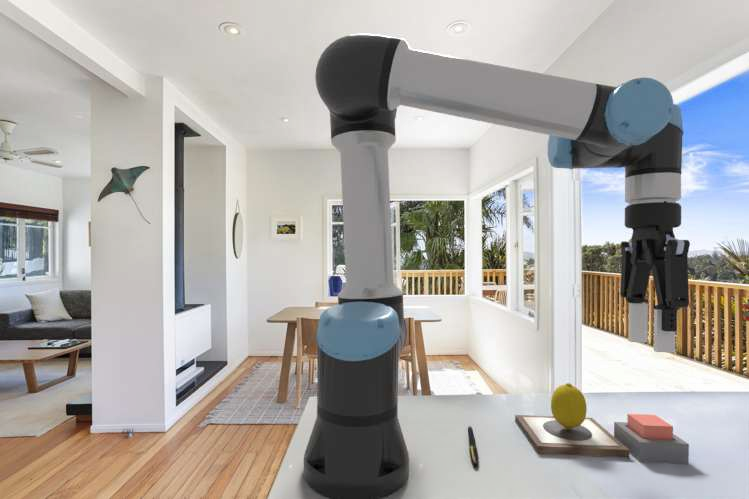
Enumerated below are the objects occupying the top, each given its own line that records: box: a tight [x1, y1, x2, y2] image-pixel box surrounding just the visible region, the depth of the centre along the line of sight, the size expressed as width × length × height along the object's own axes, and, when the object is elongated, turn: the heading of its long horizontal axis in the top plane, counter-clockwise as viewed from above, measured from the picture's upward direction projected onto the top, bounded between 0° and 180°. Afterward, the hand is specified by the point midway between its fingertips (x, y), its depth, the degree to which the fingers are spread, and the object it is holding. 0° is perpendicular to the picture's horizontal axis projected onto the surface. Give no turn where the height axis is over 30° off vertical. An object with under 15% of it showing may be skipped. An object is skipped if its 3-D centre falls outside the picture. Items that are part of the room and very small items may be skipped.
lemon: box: [550, 382, 588, 430], centre depth 69 cm, size 6×6×8 cm
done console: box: [613, 421, 690, 465], centre depth 65 cm, size 7×7×3 cm
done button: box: [626, 413, 674, 440], centre depth 65 cm, size 4×4×2 cm
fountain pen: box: [467, 424, 479, 468], centre depth 65 cm, size 14×1×2 cm, turn 170°
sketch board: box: [514, 414, 630, 459], centre depth 69 cm, size 14×12×1 cm
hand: (650, 346), depth 65 cm, fingers open, 6 cm apart
